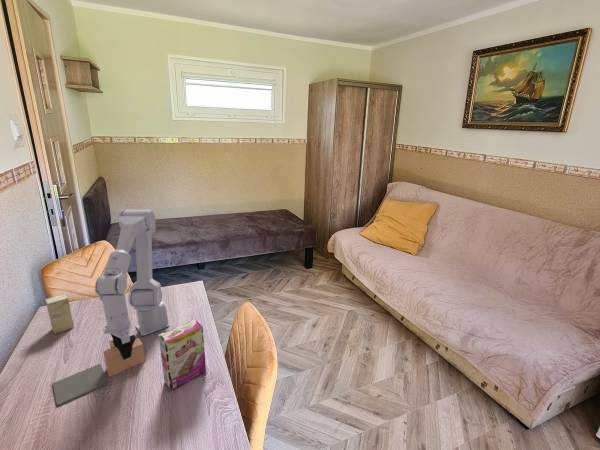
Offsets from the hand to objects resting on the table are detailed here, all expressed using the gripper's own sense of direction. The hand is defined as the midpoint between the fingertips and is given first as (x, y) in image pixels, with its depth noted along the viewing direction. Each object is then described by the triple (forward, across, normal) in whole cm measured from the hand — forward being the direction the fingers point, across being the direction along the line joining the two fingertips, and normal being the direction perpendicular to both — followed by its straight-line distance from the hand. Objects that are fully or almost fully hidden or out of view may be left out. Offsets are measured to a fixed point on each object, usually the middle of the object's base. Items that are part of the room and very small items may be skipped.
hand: (123, 351), depth 99 cm
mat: (+5, 0, -12) cm, 13 cm away
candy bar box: (+5, +17, +12) cm, 21 cm away
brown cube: (+5, -8, 0) cm, 10 cm away
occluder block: (+5, 0, 0) cm, 5 cm away
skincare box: (+5, -35, -12) cm, 37 cm away
